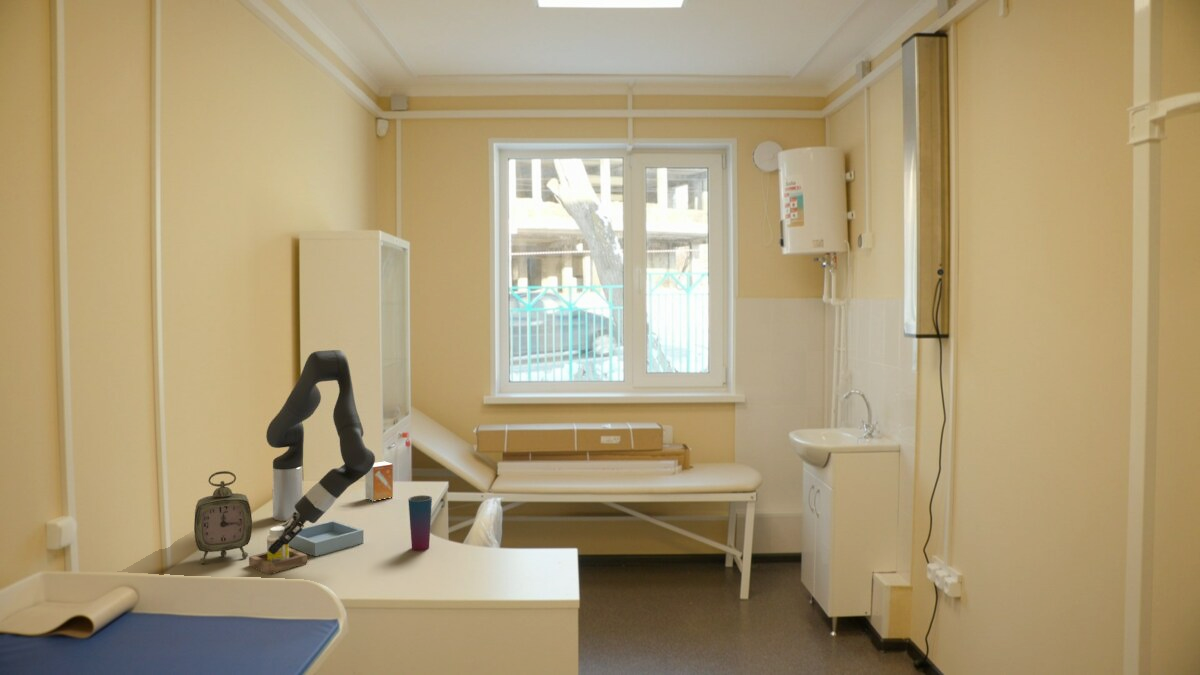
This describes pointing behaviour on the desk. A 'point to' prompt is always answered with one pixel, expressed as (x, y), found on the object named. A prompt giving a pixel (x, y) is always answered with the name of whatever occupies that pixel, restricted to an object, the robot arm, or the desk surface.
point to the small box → (379, 481)
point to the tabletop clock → (222, 520)
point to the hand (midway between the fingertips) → (271, 548)
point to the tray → (326, 538)
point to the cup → (420, 521)
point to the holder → (263, 564)
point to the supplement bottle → (283, 551)
